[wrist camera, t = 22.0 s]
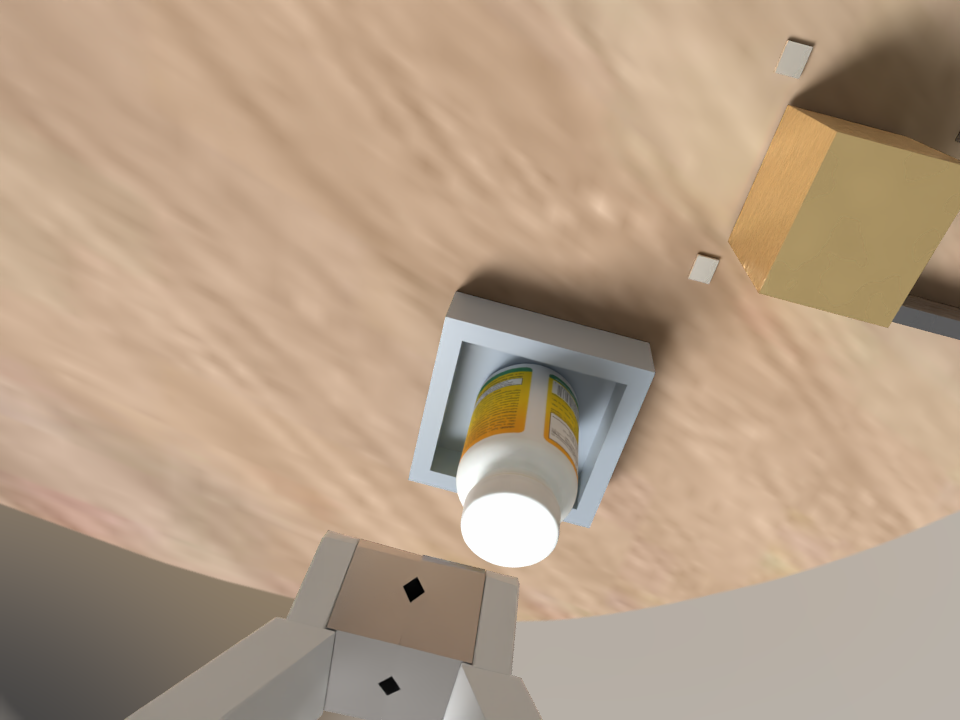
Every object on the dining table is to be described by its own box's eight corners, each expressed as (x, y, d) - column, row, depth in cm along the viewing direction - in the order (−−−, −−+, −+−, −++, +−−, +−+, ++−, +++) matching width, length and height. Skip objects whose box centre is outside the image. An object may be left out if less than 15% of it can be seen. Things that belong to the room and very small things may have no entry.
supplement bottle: (593, 377, 34) (598, 502, 26) (559, 457, 37) (554, 595, 28) (491, 346, 34) (462, 462, 26) (465, 429, 37) (431, 559, 28)
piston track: (787, 40, 27) (801, 43, 25) (1214, 154, 27) (1259, 165, 25) (687, 277, 32) (694, 293, 30) (1046, 372, 32) (1073, 395, 30)
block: (787, 104, 27) (837, 131, 22) (906, 136, 27) (983, 170, 22) (727, 241, 30) (759, 293, 25) (835, 269, 30) (887, 327, 25)
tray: (455, 291, 34) (445, 316, 31) (649, 342, 34) (655, 372, 31) (419, 446, 39) (408, 479, 36) (588, 491, 39) (589, 528, 36)
